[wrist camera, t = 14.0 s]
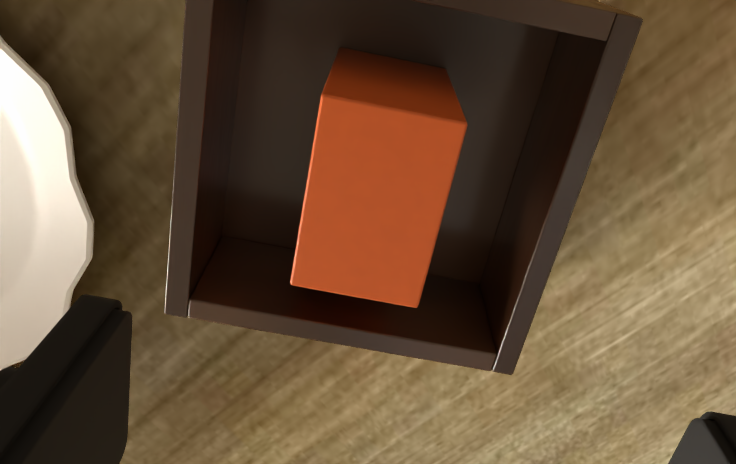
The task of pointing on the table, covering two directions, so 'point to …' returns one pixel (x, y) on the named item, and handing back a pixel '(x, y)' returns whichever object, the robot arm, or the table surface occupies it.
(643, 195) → the table surface
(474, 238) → the holder
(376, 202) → the block
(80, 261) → the plate
